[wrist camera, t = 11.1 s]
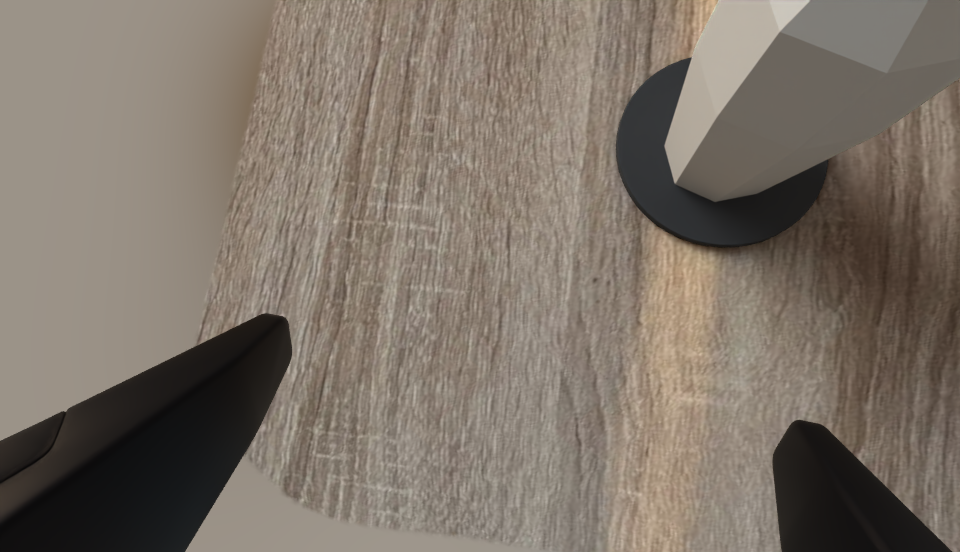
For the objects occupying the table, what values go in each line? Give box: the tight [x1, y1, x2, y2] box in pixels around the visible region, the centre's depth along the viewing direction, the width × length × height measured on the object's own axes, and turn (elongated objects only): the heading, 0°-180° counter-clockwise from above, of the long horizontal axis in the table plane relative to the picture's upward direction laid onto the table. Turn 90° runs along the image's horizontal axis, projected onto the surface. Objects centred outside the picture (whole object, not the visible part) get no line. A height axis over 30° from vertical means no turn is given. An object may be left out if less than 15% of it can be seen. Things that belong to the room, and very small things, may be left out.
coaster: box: [616, 57, 828, 247], centre depth 24 cm, size 9×9×1 cm
